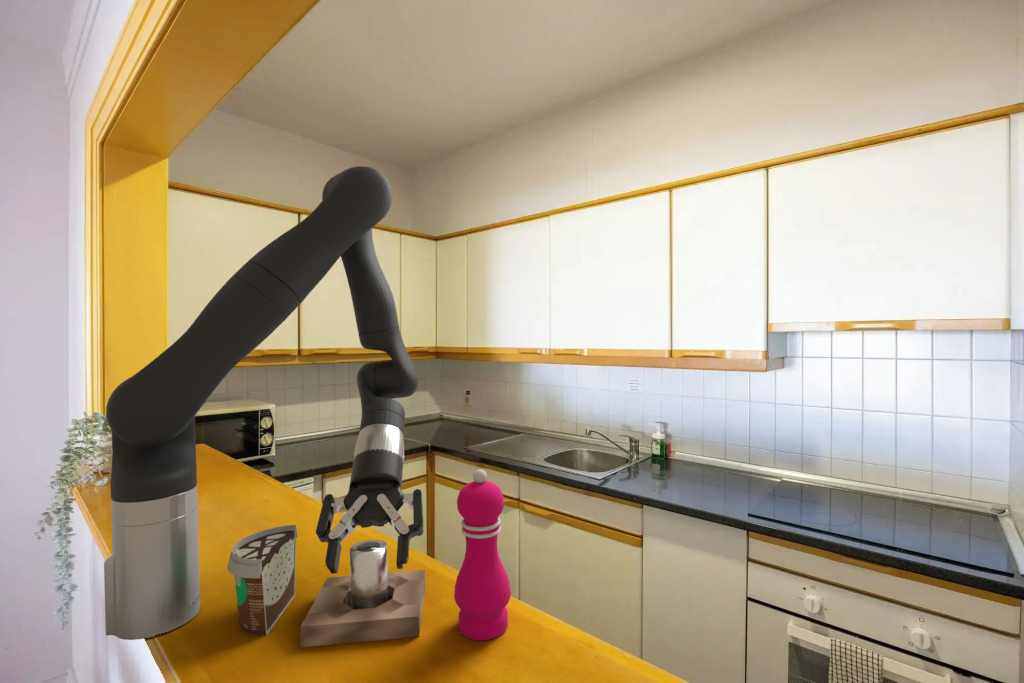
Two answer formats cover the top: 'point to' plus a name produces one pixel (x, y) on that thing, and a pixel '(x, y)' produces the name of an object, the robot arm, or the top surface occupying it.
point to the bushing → (368, 574)
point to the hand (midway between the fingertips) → (366, 569)
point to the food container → (264, 577)
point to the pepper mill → (481, 562)
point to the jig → (365, 612)
